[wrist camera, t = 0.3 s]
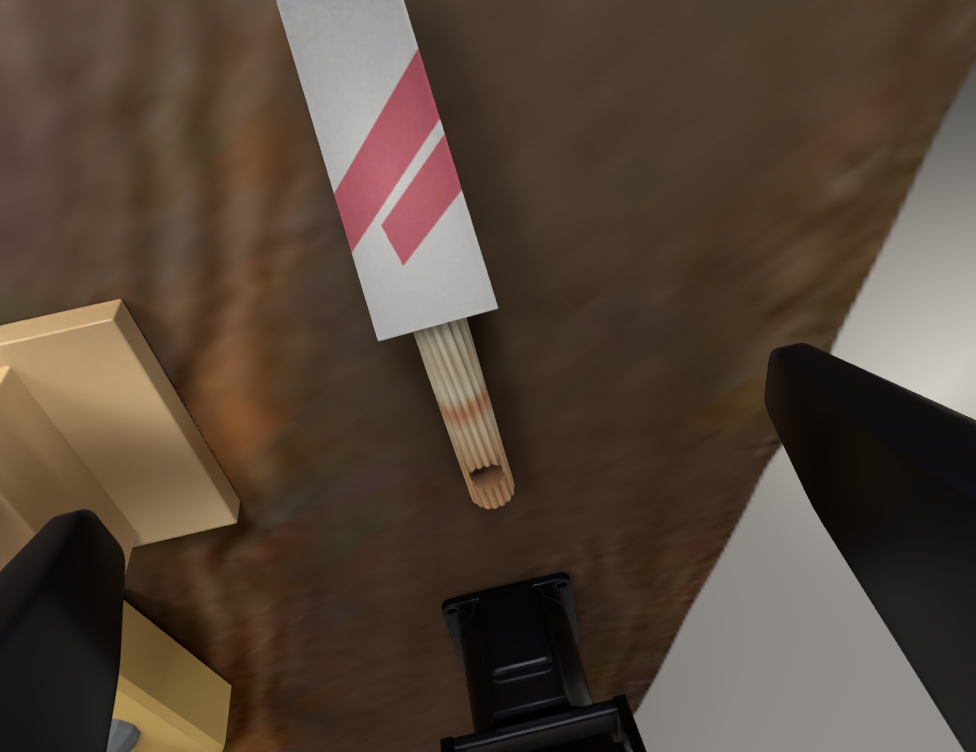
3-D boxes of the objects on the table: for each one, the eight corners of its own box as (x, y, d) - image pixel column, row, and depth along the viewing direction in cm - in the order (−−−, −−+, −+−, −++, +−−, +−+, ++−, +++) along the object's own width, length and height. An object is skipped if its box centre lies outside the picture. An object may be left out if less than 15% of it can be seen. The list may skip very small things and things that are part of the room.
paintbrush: (418, -45, 15) (542, 506, 29) (406, -71, 17) (528, 456, 31) (243, 1, 15) (450, 531, 29) (251, -30, 17) (441, 479, 31)
